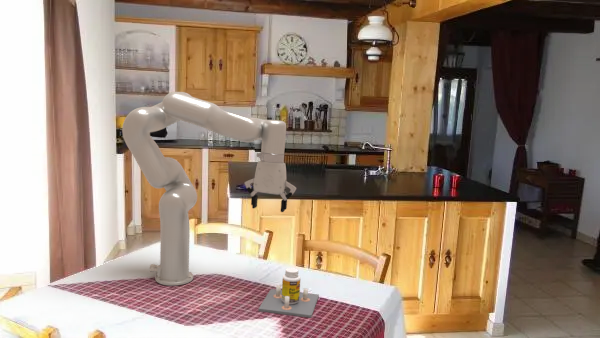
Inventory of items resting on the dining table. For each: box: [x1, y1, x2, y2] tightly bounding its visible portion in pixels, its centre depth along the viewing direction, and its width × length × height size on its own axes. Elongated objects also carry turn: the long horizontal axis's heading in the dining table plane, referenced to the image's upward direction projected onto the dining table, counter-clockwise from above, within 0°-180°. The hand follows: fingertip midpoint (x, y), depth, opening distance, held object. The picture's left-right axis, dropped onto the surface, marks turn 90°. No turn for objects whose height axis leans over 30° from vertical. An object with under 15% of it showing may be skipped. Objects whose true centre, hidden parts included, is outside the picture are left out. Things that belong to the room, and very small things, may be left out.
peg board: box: [258, 284, 320, 319], centre depth 155 cm, size 16×16×4 cm
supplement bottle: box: [281, 267, 301, 304], centre depth 155 cm, size 6×6×10 cm
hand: (268, 209), depth 164 cm, fingers open, 9 cm apart
